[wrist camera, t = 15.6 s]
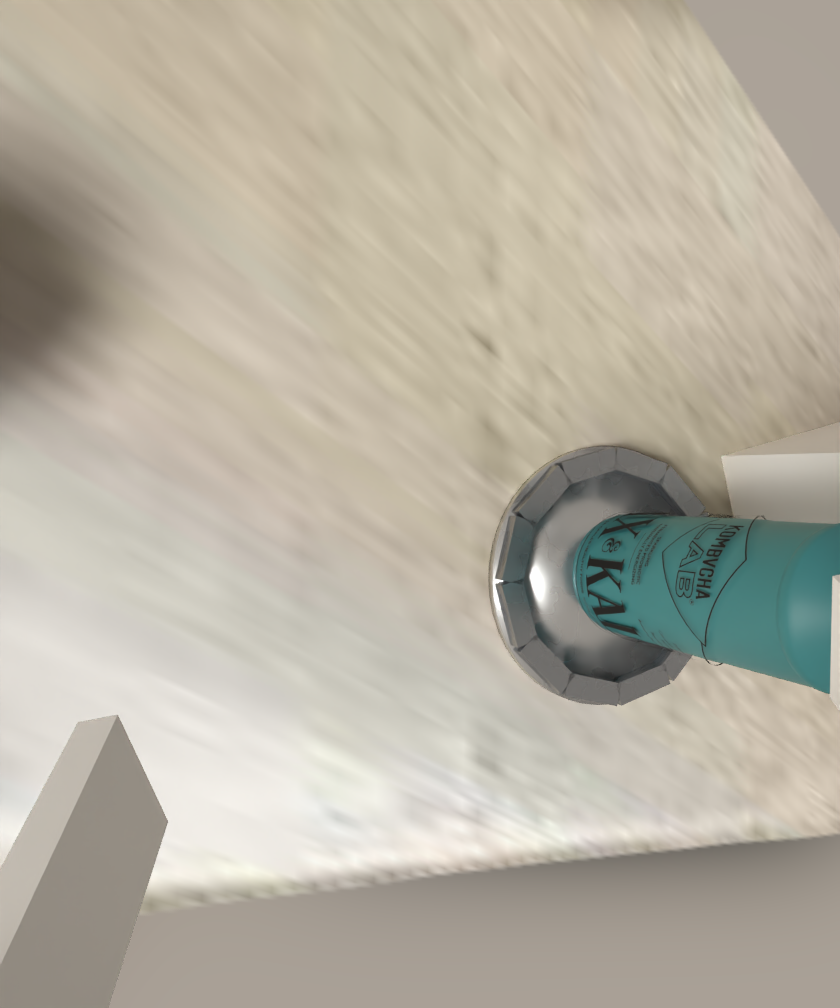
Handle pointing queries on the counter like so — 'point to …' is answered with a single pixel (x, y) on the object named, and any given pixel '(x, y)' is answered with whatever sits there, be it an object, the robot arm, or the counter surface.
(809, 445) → the milk
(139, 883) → the robot arm
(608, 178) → the counter surface
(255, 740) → the counter surface
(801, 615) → the beverage bottle
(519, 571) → the grey round plate
